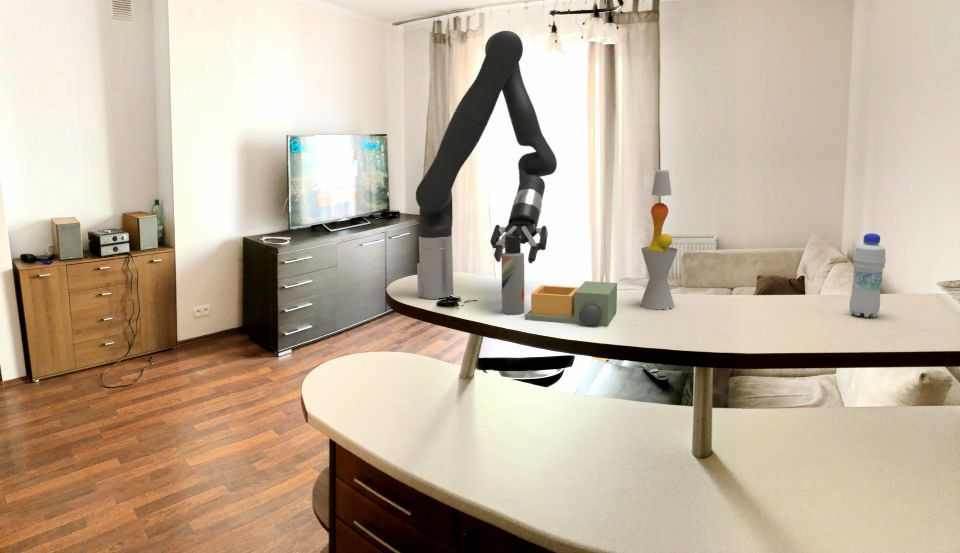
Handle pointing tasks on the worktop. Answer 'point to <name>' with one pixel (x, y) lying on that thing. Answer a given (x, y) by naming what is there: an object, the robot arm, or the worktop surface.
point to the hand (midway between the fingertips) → (513, 260)
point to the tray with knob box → (575, 304)
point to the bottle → (867, 276)
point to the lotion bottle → (512, 276)
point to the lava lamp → (659, 251)
